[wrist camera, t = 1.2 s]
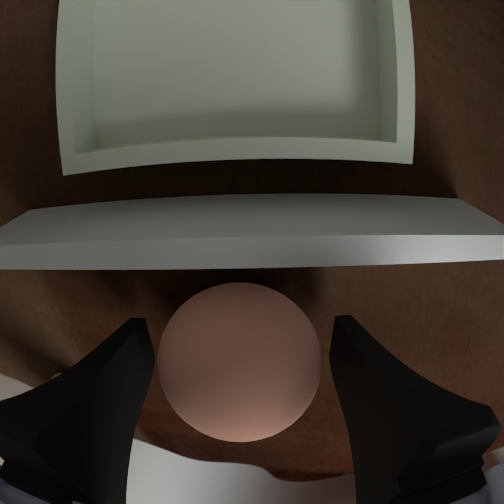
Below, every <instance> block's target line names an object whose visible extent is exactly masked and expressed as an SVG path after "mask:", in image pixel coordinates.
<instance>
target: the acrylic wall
mask: <svg viewBox="0 0 504 504" xmlns="http://www.w3.org/2000/svg"><path fill="white" fill-rule="evenodd" d="M498 259H504V224H502V223H500V222H499V221H497V220H495V219H494V218H492V217H490V216H489V215H487V214H485V213H483V212H482V211H480V210H478V209H476V208H475V207H473V206H471V205H469V204H467V203H466V202H464V201H462V200H460V199H454V198H439V197H422V196H401V195H374V194H322V193H286V194H233V195H206V196H184V197H166V198H150V199H136V200H122V201H110V202H99V203H88V204H78V205H68V206H59V207H50V208H42V209H33V210H29V211H27V212H25V213H24V214H22V215H20V216H18V217H17V218H15V219H13V220H12V221H10V222H8V223H7V224H5V225H4V226H2V227H0V269H29V270H162V269H236V268H285V267H323V266H356V265H385V264H412V263H436V262H458V261H479V260H498Z"/></svg>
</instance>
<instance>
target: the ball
mask: <svg viewBox="0 0 504 504" xmlns="http://www.w3.org/2000/svg"><path fill="white" fill-rule="evenodd" d="M321 368H322V357H321V349H320V344H319V341H318V337H317V335H316V332H315V330H314V328H313V326H312V324H311V322H310V321H309V319H308V318H307V316H306V315H305V314H304V312H303V311H302V310H301V309H300V308H299V307H298V306H297V305H296V304H295V303H294V302H293V301H291V300H290V299H289V298H287V297H286V296H284V295H283V294H281V293H279V292H277V291H275V290H273V289H270V288H268V287H265V286H262V285H258V284H252V283H242V282H235V283H226V284H220V285H217V286H214V287H211V288H208V289H206V290H203V291H201V292H199V293H197V294H196V295H194V296H193V297H191V298H190V299H189V300H187V301H186V302H185V303H184V304H183V305H181V306H180V307H179V309H178V310H177V311H176V312H175V313H174V315H173V316H172V317H171V319H170V320H169V322H168V324H167V325H166V328H165V330H164V332H163V335H162V337H161V341H160V345H159V350H158V373H159V379H160V383H161V386H162V389H163V391H164V394H165V396H166V398H167V399H168V401H169V403H170V404H171V406H172V408H173V409H174V410H175V411H176V412H177V414H178V415H179V416H180V417H181V418H182V419H183V420H184V421H185V422H186V423H188V424H189V425H191V426H192V427H193V428H195V429H196V430H198V431H200V432H201V433H204V434H206V435H208V436H211V437H214V438H217V439H221V440H225V441H232V442H248V441H255V440H260V439H264V438H267V437H270V436H272V435H275V434H277V433H279V432H280V431H282V430H284V429H286V428H287V427H289V426H290V425H291V424H293V423H294V422H295V421H296V420H297V419H298V418H299V417H300V416H301V415H302V414H303V413H304V411H305V410H306V409H307V407H308V406H309V404H310V403H311V401H312V399H313V397H314V395H315V393H316V391H317V388H318V385H319V381H320V377H321Z"/></svg>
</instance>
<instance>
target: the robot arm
mask: <svg viewBox="0 0 504 504" xmlns="http://www.w3.org/2000/svg"><path fill="white" fill-rule="evenodd" d="M329 360H330V366H331V372H332V377H333V381H334V384H335V388H336V391H337V394H338V398H339V401H340V404H341V407H342V411H343V414H344V417H345V421H346V424H347V428H348V433H349V438H350V445H351V451H352V458H353V466H354V475H355V486H356V501H357V504H504V462H502V463H500V464H498V465H496V466H494V467H492V468H490V469H489V470H487V471H486V472H484V473H483V472H482V469H481V467H482V466H483V465H484V461H483V458H482V454H483V453H484V452H485V451H486V450H487V449H488V448H489V447H490V445H491V444H492V443H493V442H494V441H495V439H496V438H497V437H498V435H499V433H500V430H501V425H500V423H499V421H498V419H497V418H496V416H495V414H494V412H493V411H492V409H491V407H490V406H487V405H484V404H481V403H478V402H475V401H471V400H468V399H466V398H463V397H461V396H459V395H456V394H454V393H452V392H450V391H447V390H445V389H443V388H441V387H440V386H438V385H436V384H434V383H432V382H431V381H429V380H427V379H425V378H424V377H422V376H421V375H419V374H418V373H416V372H415V371H413V370H412V369H410V368H409V367H407V366H406V365H405V364H403V363H402V362H401V361H400V360H398V359H397V358H396V357H395V356H393V355H392V354H391V353H390V352H389V351H388V350H386V349H385V348H384V347H383V346H382V345H381V344H380V343H379V342H378V341H377V340H376V339H374V338H373V337H372V336H371V335H370V334H369V333H368V332H367V331H366V330H365V329H364V328H363V327H362V326H361V325H360V324H359V323H358V322H357V321H356V320H355V319H354V318H353V317H352V316H351V315H343V316H335V321H334V328H333V334H332V340H331V346H330V352H329ZM154 363H155V354H154V350H153V347H152V343H151V339H150V336H149V332H148V328H147V324H146V320H145V318H130V319H129V320H128V321H126V322H125V323H124V324H123V325H122V326H121V327H119V328H118V329H117V330H116V331H115V332H114V333H113V334H112V335H110V336H109V337H108V338H107V339H106V340H105V341H104V342H102V343H101V344H100V345H99V346H98V347H97V348H95V349H94V350H93V351H92V352H90V353H89V354H88V355H87V356H85V357H84V358H83V359H82V360H80V361H79V362H78V363H76V364H75V365H74V366H72V367H71V368H69V369H68V370H66V371H65V372H63V373H62V374H60V375H58V376H57V377H55V378H53V379H51V380H49V381H47V382H46V383H44V384H42V385H40V386H38V387H36V388H34V389H32V390H29V391H27V392H25V393H22V394H20V395H17V396H14V397H11V398H8V399H5V400H2V401H0V457H1V458H2V459H3V460H4V463H3V465H2V466H1V465H0V504H126V487H127V476H128V467H129V460H130V453H131V447H132V441H133V436H134V431H135V427H136V424H137V420H138V417H139V414H140V411H141V408H142V405H143V402H144V399H145V397H146V394H147V391H148V388H149V385H150V381H151V378H152V373H153V368H154Z"/></svg>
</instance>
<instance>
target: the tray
mask: <svg viewBox="0 0 504 504" xmlns="http://www.w3.org/2000/svg"><path fill="white" fill-rule="evenodd" d="M56 106H57V123H58V135H59V145H60V155H61V163H62V171H63V176H65V175H71V174H78V173H85V172H92V171H99V170H107V169H115V168H124V167H133V166H143V165H154V164H166V163H179V162H193V161H211V160H235V159H336V160H360V161H377V162H392V163H404V164H412V163H413V149H414V127H415V69H414V49H413V35H412V24H411V15H410V6H409V0H60V1H59V11H58V22H57V38H56Z"/></svg>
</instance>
